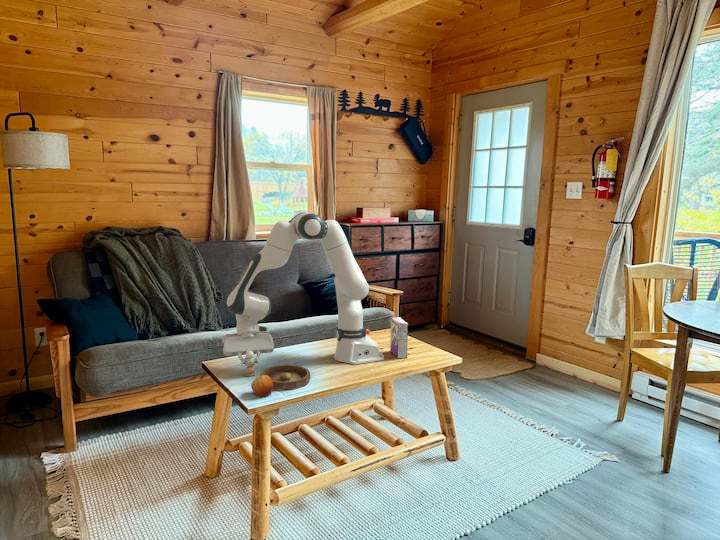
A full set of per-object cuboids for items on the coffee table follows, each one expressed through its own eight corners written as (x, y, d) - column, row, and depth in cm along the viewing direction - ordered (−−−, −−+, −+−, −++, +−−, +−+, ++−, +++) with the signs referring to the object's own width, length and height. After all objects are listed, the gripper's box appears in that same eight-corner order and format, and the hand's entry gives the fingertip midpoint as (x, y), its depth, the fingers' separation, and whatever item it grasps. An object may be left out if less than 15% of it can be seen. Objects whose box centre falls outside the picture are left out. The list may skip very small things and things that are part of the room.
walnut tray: (304, 370, 208) (304, 363, 207) (313, 387, 190) (314, 379, 189) (258, 374, 202) (258, 367, 202) (263, 392, 184) (263, 384, 184)
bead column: (254, 373, 203) (254, 348, 201) (255, 376, 199) (255, 351, 198) (244, 374, 202) (244, 349, 200) (245, 377, 198) (244, 352, 197)
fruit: (280, 393, 180) (268, 376, 178) (261, 405, 179) (249, 388, 177) (277, 384, 188) (266, 368, 186) (259, 396, 187) (247, 380, 184)
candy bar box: (389, 351, 235) (390, 317, 232) (399, 350, 236) (400, 317, 233) (396, 359, 224) (398, 323, 221) (407, 358, 225) (408, 323, 222)
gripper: (221, 330, 202) (223, 361, 194) (272, 327, 207) (275, 357, 200) (221, 338, 206) (223, 368, 199) (271, 334, 212) (274, 364, 205)
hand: (249, 363), depth 199 cm, fingers closed on bead column, 4 cm apart
